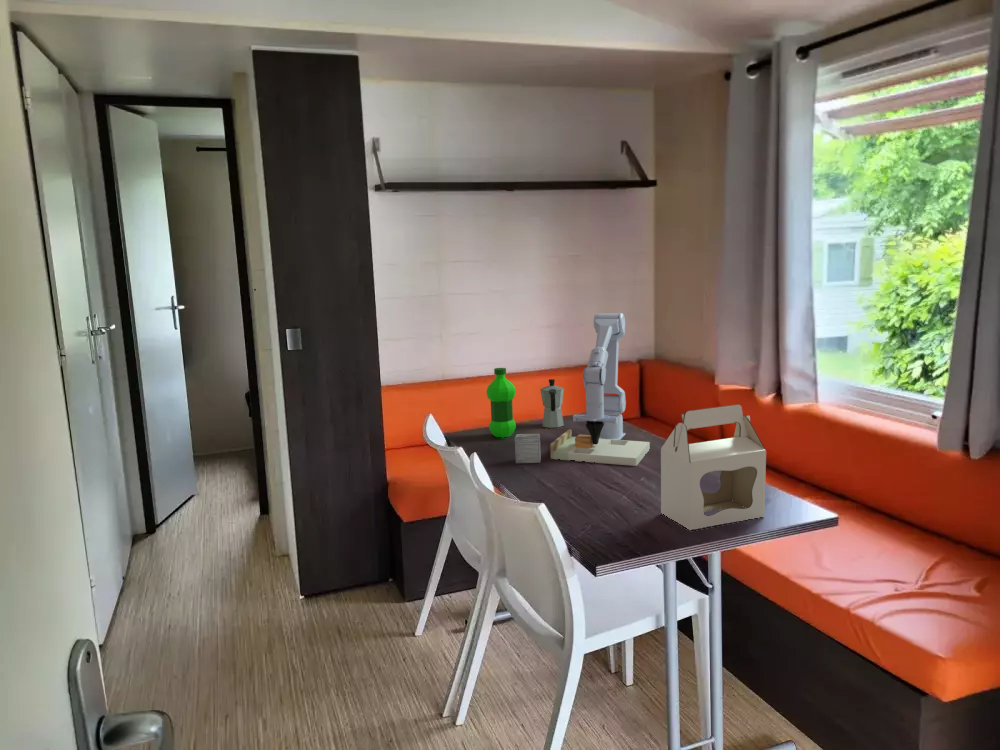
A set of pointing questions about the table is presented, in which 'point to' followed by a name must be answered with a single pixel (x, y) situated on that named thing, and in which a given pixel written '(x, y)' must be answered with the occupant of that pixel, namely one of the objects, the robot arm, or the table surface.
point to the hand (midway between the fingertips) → (595, 443)
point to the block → (583, 441)
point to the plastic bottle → (501, 405)
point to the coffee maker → (552, 405)
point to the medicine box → (527, 448)
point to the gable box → (730, 455)
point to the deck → (599, 450)
